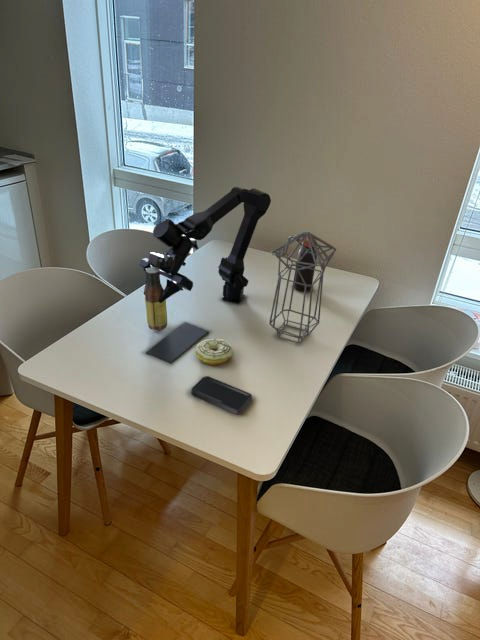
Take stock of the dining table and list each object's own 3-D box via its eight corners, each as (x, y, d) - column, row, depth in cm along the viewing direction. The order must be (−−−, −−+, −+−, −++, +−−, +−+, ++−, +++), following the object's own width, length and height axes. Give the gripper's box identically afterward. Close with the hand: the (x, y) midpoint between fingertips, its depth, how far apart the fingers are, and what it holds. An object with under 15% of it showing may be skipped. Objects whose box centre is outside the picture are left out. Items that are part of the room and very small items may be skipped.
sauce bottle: (169, 321, 153) (167, 266, 142) (164, 332, 148) (163, 275, 137) (149, 319, 153) (146, 264, 143) (144, 330, 148) (140, 273, 137)
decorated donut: (239, 356, 141) (240, 346, 139) (213, 372, 134) (214, 361, 132) (214, 341, 147) (215, 331, 145) (188, 355, 140) (189, 345, 138)
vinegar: (314, 287, 182) (322, 238, 171) (306, 294, 177) (314, 244, 166) (298, 282, 185) (305, 233, 174) (290, 288, 180) (297, 239, 169)
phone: (205, 375, 131) (253, 394, 125) (205, 378, 132) (253, 398, 126) (189, 390, 125) (239, 412, 119) (189, 394, 126) (238, 415, 120)
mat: (185, 323, 155) (185, 322, 155) (208, 331, 151) (208, 330, 151) (145, 353, 140) (145, 351, 140) (170, 363, 136) (170, 362, 136)
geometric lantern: (323, 331, 156) (341, 230, 137) (305, 355, 144) (323, 248, 125) (279, 317, 162) (291, 218, 143) (259, 339, 150) (269, 234, 131)
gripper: (141, 233, 143) (115, 277, 142) (186, 251, 134) (158, 299, 132) (161, 249, 153) (137, 291, 151) (204, 268, 143) (179, 313, 142)
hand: (152, 298), depth 144 cm, fingers closed on sauce bottle, 6 cm apart
